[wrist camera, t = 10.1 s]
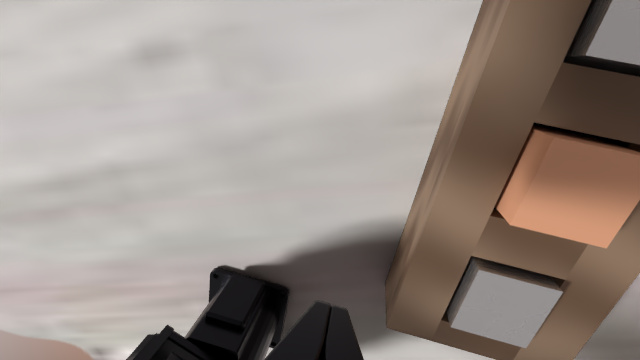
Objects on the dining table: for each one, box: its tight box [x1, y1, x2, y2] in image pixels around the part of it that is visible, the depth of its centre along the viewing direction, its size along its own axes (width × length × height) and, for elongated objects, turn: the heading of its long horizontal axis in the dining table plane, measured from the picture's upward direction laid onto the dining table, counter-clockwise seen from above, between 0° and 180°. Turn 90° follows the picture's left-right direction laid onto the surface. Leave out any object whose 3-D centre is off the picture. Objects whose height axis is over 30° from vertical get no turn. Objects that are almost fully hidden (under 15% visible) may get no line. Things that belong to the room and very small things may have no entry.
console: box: [385, 0, 640, 360], centre depth 15 cm, size 22×10×4 cm, turn 170°
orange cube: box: [495, 125, 640, 249], centre depth 14 cm, size 4×4×4 cm
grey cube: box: [446, 256, 563, 348], centre depth 17 cm, size 4×4×4 cm
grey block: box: [563, 0, 640, 75], centre depth 12 cm, size 4×4×4 cm
